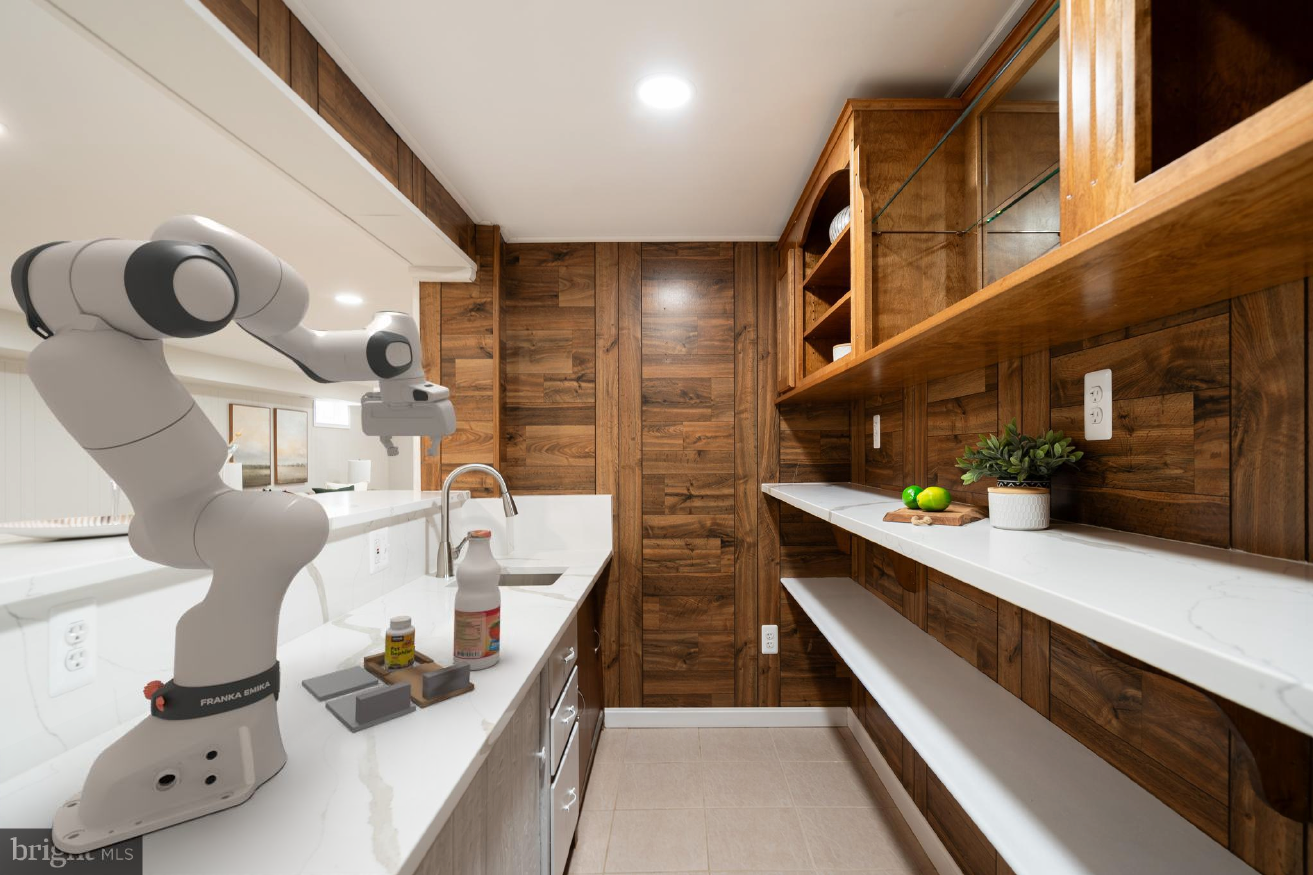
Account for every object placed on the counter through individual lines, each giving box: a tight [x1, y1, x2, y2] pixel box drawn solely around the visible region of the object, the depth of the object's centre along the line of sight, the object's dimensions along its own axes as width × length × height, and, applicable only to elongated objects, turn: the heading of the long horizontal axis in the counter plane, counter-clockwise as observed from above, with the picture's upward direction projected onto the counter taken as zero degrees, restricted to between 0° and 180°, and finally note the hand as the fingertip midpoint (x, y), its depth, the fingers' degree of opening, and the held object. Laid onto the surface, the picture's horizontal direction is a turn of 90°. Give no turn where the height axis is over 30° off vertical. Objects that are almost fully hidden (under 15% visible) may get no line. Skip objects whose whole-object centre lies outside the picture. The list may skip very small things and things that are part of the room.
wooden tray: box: [363, 645, 475, 708], centre depth 104 cm, size 10×26×5 cm, turn 49°
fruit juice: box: [453, 529, 502, 671], centre depth 113 cm, size 9×9×28 cm
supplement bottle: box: [383, 615, 416, 673], centre depth 109 cm, size 6×6×10 cm
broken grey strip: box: [301, 665, 417, 734], centre depth 96 cm, size 10×26×5 cm, turn 49°
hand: (413, 455), depth 112 cm, fingers open, 8 cm apart
